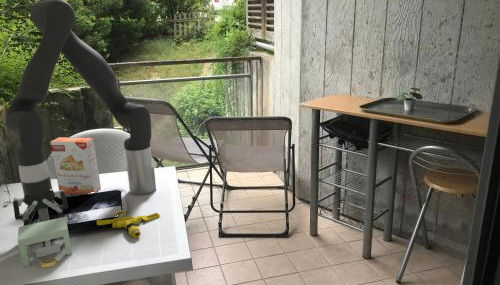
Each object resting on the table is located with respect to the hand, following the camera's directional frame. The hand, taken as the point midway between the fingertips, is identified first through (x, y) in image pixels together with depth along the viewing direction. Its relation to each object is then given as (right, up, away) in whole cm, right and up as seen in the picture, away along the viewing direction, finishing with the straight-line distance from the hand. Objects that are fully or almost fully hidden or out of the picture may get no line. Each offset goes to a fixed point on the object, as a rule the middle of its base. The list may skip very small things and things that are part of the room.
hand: (45, 225), depth 122 cm
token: (+8, -7, -14) cm, 18 cm away
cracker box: (-2, +7, +31) cm, 32 cm away
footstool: (+6, -6, -9) cm, 12 cm away
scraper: (+2, -4, -3) cm, 6 cm away
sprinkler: (+26, -2, +4) cm, 26 cm away
